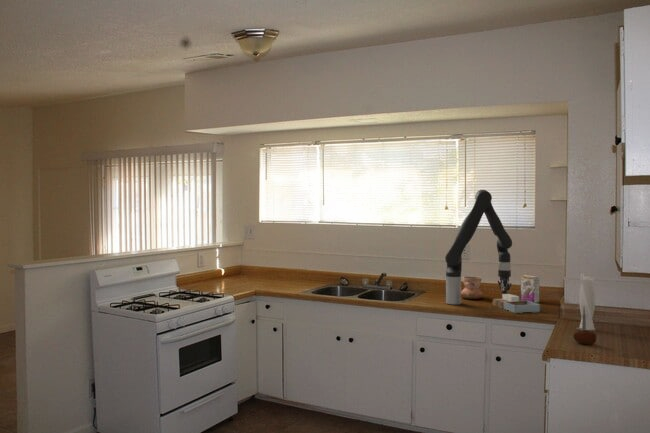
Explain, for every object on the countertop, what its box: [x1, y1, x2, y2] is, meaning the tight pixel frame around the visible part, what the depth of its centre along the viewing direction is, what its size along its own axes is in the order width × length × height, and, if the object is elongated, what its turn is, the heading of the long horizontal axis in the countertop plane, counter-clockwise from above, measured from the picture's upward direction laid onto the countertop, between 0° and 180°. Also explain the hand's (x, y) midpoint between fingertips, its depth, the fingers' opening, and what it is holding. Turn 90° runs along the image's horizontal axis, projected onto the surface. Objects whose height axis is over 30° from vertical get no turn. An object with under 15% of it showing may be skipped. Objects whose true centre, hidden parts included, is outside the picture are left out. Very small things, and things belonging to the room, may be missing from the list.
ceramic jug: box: [461, 275, 484, 300], centre depth 373 cm, size 18×14×14 cm
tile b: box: [507, 294, 520, 302], centre depth 339 cm, size 5×5×3 cm
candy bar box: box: [520, 274, 540, 304], centre depth 359 cm, size 11×5×16 cm, turn 28°
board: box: [492, 297, 527, 310], centre depth 343 cm, size 13×16×4 cm
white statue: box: [576, 272, 597, 332], centre depth 282 cm, size 8×8×28 cm
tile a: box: [501, 293, 513, 300], centre depth 345 cm, size 5×5×3 cm
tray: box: [503, 301, 541, 314], centre depth 330 cm, size 13×16×4 cm
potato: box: [572, 330, 598, 346], centre depth 252 cm, size 7×9×6 cm
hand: (504, 296), depth 350 cm, fingers closed
